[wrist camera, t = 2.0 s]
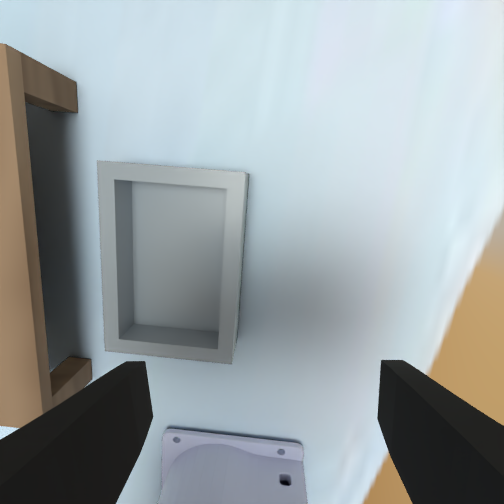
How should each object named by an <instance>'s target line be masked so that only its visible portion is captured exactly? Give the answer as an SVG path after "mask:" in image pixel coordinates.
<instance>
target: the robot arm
mask: <svg viewBox="0 0 504 504" xmlns="http://www.w3.org/2000/svg"><path fill="white" fill-rule="evenodd" d="M152 419H153V412H152V405H151V398H150V391H149V384H148V377H147V370H146V363H145V361H126V362H125V363H123V364H121V365H119V366H117V367H116V368H114V369H113V370H111V371H109V372H108V373H106V374H105V375H103V376H102V377H100V378H99V379H97V380H95V381H94V382H92V383H91V384H89V385H88V386H86V387H85V388H83V389H82V390H80V391H79V392H77V393H76V394H74V395H72V396H71V397H69V398H68V399H66V400H65V401H63V402H62V403H60V404H59V405H57V406H55V407H54V408H52V409H50V410H49V411H47V412H46V413H44V414H42V415H41V416H39V417H37V418H36V419H34V420H32V421H31V422H29V423H28V424H26V425H24V426H23V427H21V428H19V429H18V430H16V431H14V432H13V433H11V434H9V435H8V436H6V437H4V438H2V439H1V440H0V504H116V502H117V500H118V498H119V496H120V494H121V492H122V490H123V488H124V486H125V484H126V482H127V480H128V478H129V475H130V473H131V471H132V469H133V467H134V465H135V463H136V461H137V459H138V457H139V455H140V452H141V450H142V447H143V445H144V442H145V439H146V436H147V434H148V431H149V428H150V425H151V422H152ZM378 422H379V425H380V428H381V430H382V433H383V436H384V439H385V442H386V445H387V448H388V451H389V453H390V456H391V458H392V460H393V463H394V465H395V467H396V469H397V471H398V473H399V476H400V477H401V480H402V482H403V484H404V486H405V488H406V490H407V493H408V495H409V497H410V499H411V501H412V503H413V504H504V426H503V425H501V424H500V423H498V422H496V421H495V420H493V419H492V418H490V417H488V416H487V415H485V414H484V413H482V412H481V411H479V410H477V409H476V408H474V407H473V406H471V405H470V404H468V403H467V402H465V401H464V400H462V399H461V398H459V397H458V396H456V395H454V394H453V393H452V392H450V391H449V390H447V389H446V388H444V387H443V386H441V385H440V384H438V383H437V382H436V381H434V380H432V379H431V378H429V377H428V376H427V375H425V374H424V373H422V372H421V371H419V370H418V369H416V368H415V367H413V366H412V365H410V364H408V363H407V362H405V361H403V360H381V371H380V387H379V404H378ZM176 437H179V438H176ZM279 449H283V450H279ZM303 457H304V451H303V447H302V445H301V444H299V443H293V442H284V441H275V440H266V439H258V438H249V437H240V436H231V435H223V434H214V433H205V432H196V431H188V430H179V429H167V430H165V431H164V434H163V436H162V492H161V494H160V497H159V500H158V503H157V504H308V500H307V492H306V484H305V476H304V468H303Z"/></svg>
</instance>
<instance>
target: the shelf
mask: <svg viewBox="0 0 504 504" xmlns="http://www.w3.org/2000/svg"><path fill="white" fill-rule="evenodd" d="M25 102H27V103H30V104H32V105H35V106H38V107H41V108H44V109H47V110H50V111H59V112H73V113H78V107H77V89H76V82H75V81H73V80H71V79H69V78H67V77H66V76H64V75H62V74H60V73H58V72H56V71H55V70H53V69H51V68H49V67H47V66H45V65H43V64H42V63H40V62H38V61H36V60H34V59H32V58H31V57H29V56H27V55H25V54H23V53H21V52H19V51H18V50H16V49H14V48H12V47H10V46H8V45H7V44H1V43H0V426H7V427H16V428H21V427H23V426H24V425H26V424H28V423H29V422H31V421H32V420H34V419H36V418H37V417H39V416H41V415H42V414H44V413H46V412H47V411H49V410H50V409H52V408H54V407H55V406H57V405H59V404H60V403H62V402H63V401H65V400H66V399H68V398H69V397H71V396H72V395H74V394H76V393H77V392H79V391H80V390H82V389H83V388H84V387H85V386H86V385H87V384H88V383H89V382H90V381H91V380H92V367H91V359H85V358H76V357H68V358H67V359H66V360H65V361H63V362H62V363H61V364H60V365H59V366H57V367H56V368H55V369H54V370H53V371H52V372H50V370H49V359H48V348H47V337H46V326H45V315H44V304H43V293H42V282H41V271H40V260H39V250H38V239H37V228H36V217H35V206H34V195H33V184H32V173H31V162H30V151H29V140H28V129H27V118H26V107H25Z"/></svg>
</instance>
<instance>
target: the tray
mask: <svg viewBox="0 0 504 504" xmlns="http://www.w3.org/2000/svg"><path fill="white" fill-rule="evenodd" d="M97 174H98V198H99V222H100V247H101V271H102V295H103V319H104V343H105V351H109V352H119V353H129V354H138V355H148V356H157V357H167V358H176V359H186V360H195V361H205V362H214V363H224V364H232V361H233V356H234V351H235V347H236V342H237V333H238V319H239V306H240V292H241V279H242V265H243V252H244V238H245V224H246V211H247V197H248V184H249V174H248V173H246V172H237V171H225V170H212V169H199V168H187V167H174V166H161V165H149V164H136V163H123V162H111V161H98V160H97Z"/></svg>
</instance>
